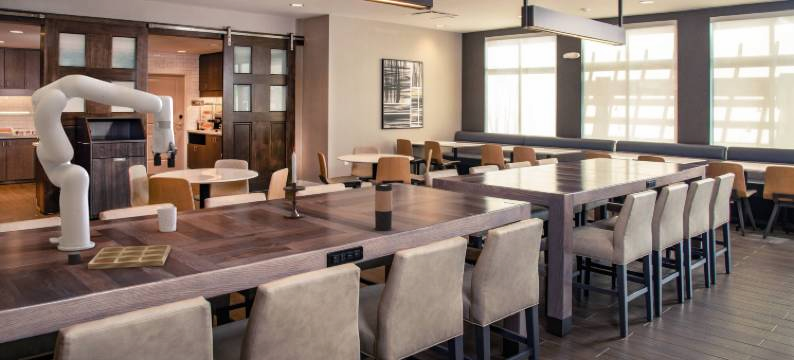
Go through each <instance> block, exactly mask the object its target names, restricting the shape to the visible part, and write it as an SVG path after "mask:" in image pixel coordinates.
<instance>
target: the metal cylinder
mask: <svg viewBox="0 0 794 360" xmlns="http://www.w3.org/2000/svg"><path fill="white" fill-rule="evenodd" d="M67 263H68V265H78V264H82V252H81V251H69V252H68V253H67Z"/></svg>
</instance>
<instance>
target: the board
mask: <svg viewBox="0 0 794 360" xmlns="http://www.w3.org/2000/svg"><path fill="white" fill-rule="evenodd" d="M170 252H171V244H160V245H139V246H135V245H133V246H115V247H112V246H111V247H102V248H101V249H100V250H99V251H98V252H97V253H96V254H95V256H93V258H92V259H91V260H90V261H89V262H88V263H87V270H102V269H103V270H104V269H122V268H123V269H125V268H142V267H143V268H145V267H162V266H164V265H165V262H166V261H167V259H168V255H169V254H170Z"/></svg>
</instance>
